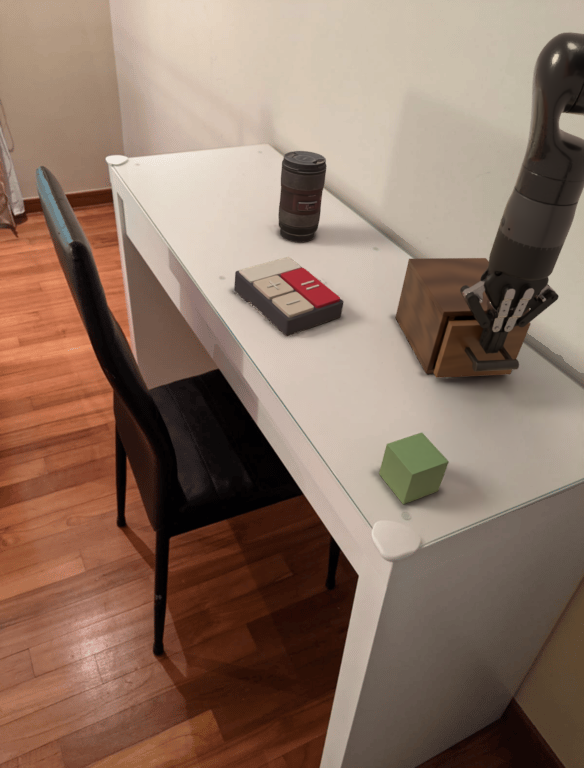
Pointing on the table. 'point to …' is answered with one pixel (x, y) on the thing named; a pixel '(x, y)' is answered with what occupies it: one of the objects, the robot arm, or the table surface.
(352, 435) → the table surface
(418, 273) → the cabinet
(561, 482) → the table surface
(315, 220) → the camera lens
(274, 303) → the calculator
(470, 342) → the drawer
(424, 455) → the block
